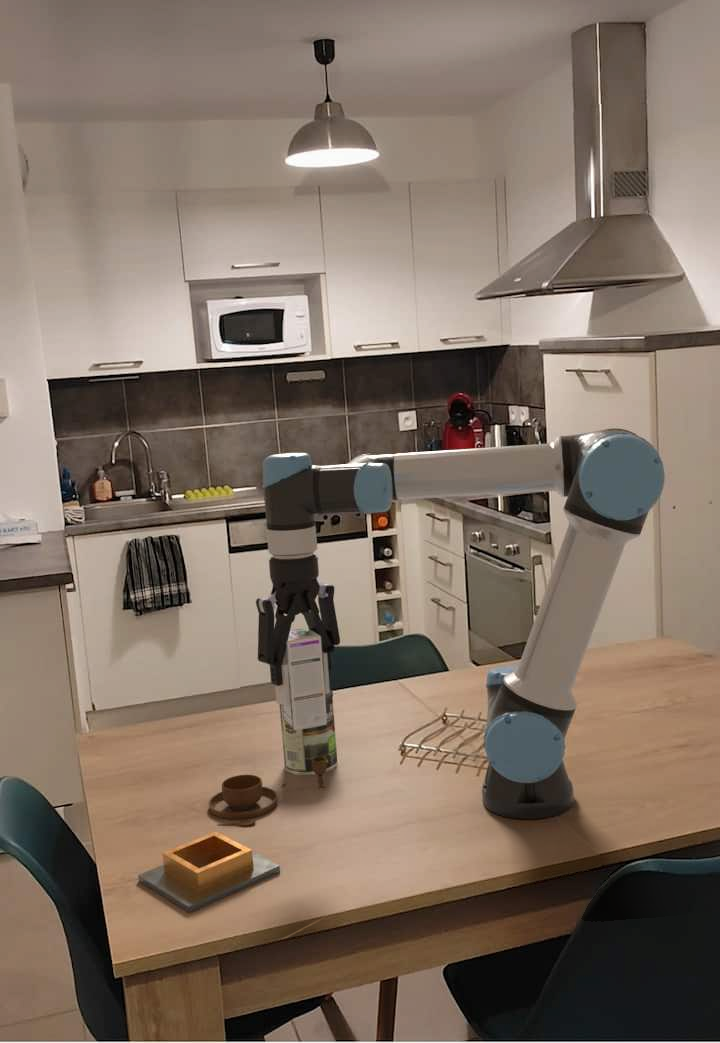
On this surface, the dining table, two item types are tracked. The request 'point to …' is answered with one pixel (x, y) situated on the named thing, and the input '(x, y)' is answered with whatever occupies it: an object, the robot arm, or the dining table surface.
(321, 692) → the syrup box
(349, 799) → the dining table surface
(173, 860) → the wooden box on plate
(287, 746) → the coffee can
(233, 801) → the place setting
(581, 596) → the robot arm
